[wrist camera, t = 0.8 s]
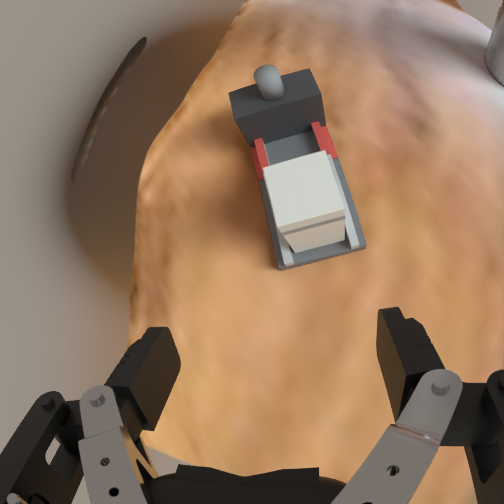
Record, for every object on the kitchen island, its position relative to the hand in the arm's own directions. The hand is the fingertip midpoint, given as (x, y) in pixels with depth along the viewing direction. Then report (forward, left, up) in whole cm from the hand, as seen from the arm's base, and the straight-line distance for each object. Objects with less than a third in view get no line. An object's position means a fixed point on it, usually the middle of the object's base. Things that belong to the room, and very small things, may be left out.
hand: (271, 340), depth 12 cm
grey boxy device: (-16, -3, -21) cm, 26 cm away
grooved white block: (-10, -1, -19) cm, 22 cm away
